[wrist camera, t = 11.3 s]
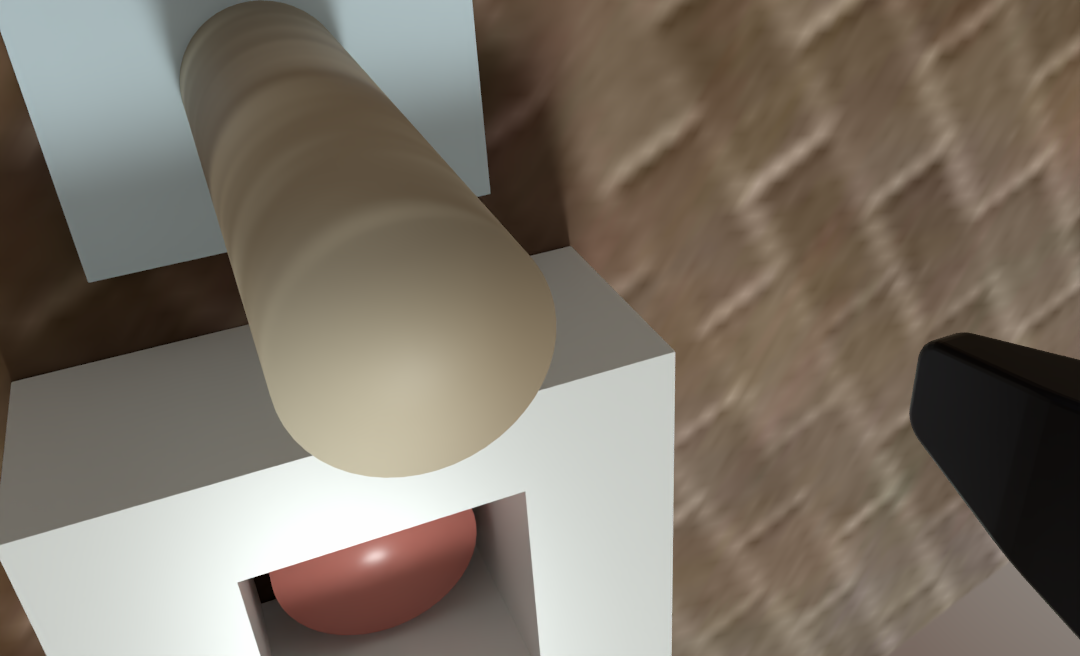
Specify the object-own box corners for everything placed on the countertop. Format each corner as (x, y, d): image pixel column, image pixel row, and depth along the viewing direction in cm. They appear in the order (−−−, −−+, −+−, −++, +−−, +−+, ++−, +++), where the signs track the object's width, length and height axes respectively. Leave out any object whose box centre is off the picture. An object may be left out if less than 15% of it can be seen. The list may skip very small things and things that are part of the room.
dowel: (202, 178, 18) (299, 511, 10) (159, 15, 17) (235, 259, 9) (360, 147, 19) (563, 432, 11) (333, -12, 18) (548, 187, 10)
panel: (149, 708, 25) (162, 895, 21) (11, 381, 19) (-7, 546, 15) (586, 558, 28) (670, 692, 24) (571, 245, 23) (675, 351, 19)
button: (279, 600, 24) (293, 661, 22) (236, 452, 21) (249, 508, 20) (459, 541, 25) (485, 595, 24) (438, 395, 23) (465, 444, 21)
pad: (87, 269, 19) (88, 282, 18) (-27, -62, 16) (-30, -55, 15) (481, 183, 21) (490, 193, 21) (450, -120, 18) (460, -116, 18)
